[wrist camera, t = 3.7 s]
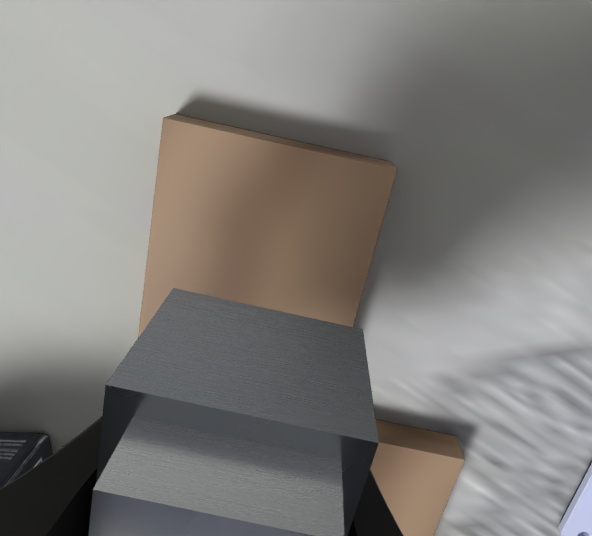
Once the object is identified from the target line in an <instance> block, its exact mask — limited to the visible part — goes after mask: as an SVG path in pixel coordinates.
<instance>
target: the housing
mask: <svg viewBox="0 0 592 536" xmlns="http://www.w3.org/2000/svg"><path fill="white" fill-rule="evenodd" d="M378 444H379V441H378V434H377V427H376V419H375V412H374V405H373V398H372V391H371V384H370V377H369V370H368V363H367V356H366V349H365V342H364V335H363V329H359V328H355V327H350V326H345V325H341V324H336V323H332V322H327V321H323V320H318V319H314V318H309V317H304V316H300V315H295V314H291V313H286V312H282V311H277V310H273V309H268V308H263V307H259V306H254V305H250V304H245V303H241V302H236V301H232V300H227V299H222V298H218V297H213V296H209V295H204V294H200V293H195V292H191V291H186V290H181V289H177V288H173V289H172V290H171V292H170V293H169V295H168V296H167V297H166V299H165V300H164V302H163V303H162V305H161V306H160V308H159V309H158V310H157V312H156V313H155V315H154V316H153V318H152V319H151V320H150V322H149V323H148V325H147V326H146V328H145V329H144V331H143V332H142V333H141V335H140V336H139V338H138V339H137V341H136V342H135V343H134V345H133V346H132V348H131V349H130V351H129V352H128V353H127V355H126V356H125V358H124V359H123V361H122V362H121V364H120V365H119V366H118V368H117V369H116V371H115V372H114V374H113V375H112V376H111V378H110V379H109V381H108V382H107V384H106V387H105V397H104V407H103V417H102V427H101V437H100V447H99V457H98V467H97V477H96V485H95V487H94V489H93V494H92V504H91V514H90V525H89V535H88V536H348V533H349V530H350V527H351V524H352V521H353V518H354V515H355V512H356V509H357V506H358V503H359V500H360V497H361V494H362V491H363V489H364V486H365V483H366V480H367V477H368V474H369V471H370V468H371V465H372V462H373V459H374V456H375V453H376V450H377V447H378Z"/></svg>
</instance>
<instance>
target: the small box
mask: <svg viewBox="0 0 592 536" xmlns="http://www.w3.org/2000/svg"><path fill="white" fill-rule="evenodd" d="M51 455H52V451H51V447H50V442H49V437H48V436H47V435H44V434H36V433H25V434H24V433H0V489H1V488H3V487H4V486H6V485H8V484H9V483H11V482H12V481H14V480H16V479H17V478H19V477H20V476H22V475H23V474H25V473H26V472H28V471H29V470H31V469H32V468H34V467H35V466H37V465H38V464H40V463H41V462H43V461H44V460H45V459H47V458H48V457H50V456H51Z"/></svg>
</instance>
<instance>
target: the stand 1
mask: <svg viewBox="0 0 592 536" xmlns="http://www.w3.org/2000/svg"><path fill="white" fill-rule="evenodd" d="M396 171H397V169H396V168H395V166H394V165H393V163H392V162H389V161H384V160H380V159H375V158H371V157H366V156H362V155H357V154H353V153H348V152H344V151H339V150H335V149H330V148H326V147H321V146H317V145H312V144H308V143H303V142H299V141H294V140H290V139H285V138H281V137H276V136H272V135H267V134H263V133H258V132H254V131H249V130H245V129H240V128H236V127H231V126H227V125H222V124H218V123H213V122H209V121H204V120H200V119H195V118H191V117H186V116H182V115H177V114H173V115H170V116H167V117H164V118H163V123H162V132H161V140H160V149H159V158H158V167H157V176H156V184H155V193H154V202H153V211H152V219H151V228H150V237H149V246H148V255H147V263H146V272H145V281H144V290H143V299H142V307H141V316H140V325H139V334H138V338H139V336H140V335H141V333H142V332H143V331H144V329H145V328H146V326H147V325H148V323H149V322H150V320H151V319H152V318H153V316H154V315H155V313H156V312H157V310H158V309H159V308H160V306H161V305H162V303H163V302H164V300H165V299H166V297H167V296H168V295H169V293H170V292H171V290H172V289H173V288H177V289H181V290H186V291H191V292H195V293H200V294H204V295H209V296H213V297H218V298H222V299H227V300H232V301H236V302H241V303H245V304H250V305H254V306H259V307H263V308H268V309H273V310H277V311H282V312H286V313H291V314H295V315H300V316H304V317H309V318H314V319H318V320H323V321H327V322H332V323H336V324H341V325H345V326H350V327H353V324H354V321H355V317H356V314H357V310H358V306H359V303H360V299H361V296H362V292H363V289H364V285H365V282H366V278H367V274H368V271H369V267H370V264H371V260H372V257H373V253H374V250H375V246H376V242H377V239H378V235H379V232H380V228H381V225H382V221H383V218H384V214H385V210H386V207H387V203H388V200H389V196H390V193H391V189H392V186H393V182H394V178H395V175H396Z"/></svg>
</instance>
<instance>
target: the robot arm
mask: <svg viewBox="0 0 592 536" xmlns="http://www.w3.org/2000/svg"><path fill="white" fill-rule="evenodd" d="M102 417H103V416H102ZM102 417H101V418H99V419H98V420H97V421H96V422H94V423H93V424H92V425H91V426H89V427H88V428H87V429H86V430H84V431H83V432H82V433H81V434H79V435H78V436H77V437H75V438H74V439H73V440H71V441H70V442H69V443H67V444H66V445H65V446H64V447H62V448H61V449H60V450H58V451H57V452H55V453H54V454H53V455H51V456H50V457H48V458H47V459H45V460H44V461H43V462H41V463H40V464H38V465H37V466H35V467H34V468H32V469H31V470H29V471H28V472H26V473H25V474H23V475H22V476H20V477H19V478H17V479H16V480H14V481H12V482H11V483H9V484H8V485H6V486H4V487H3V488H1V489H0V536H88V535H89V525H90V514H91V504H92V494H93V489H94V487H95V485H96V477H97V467H98V457H99V447H100V437H101V427H102ZM558 530H559V533H560V535H561V536H592V464H591V466H590V467H589V469H588V471H587V473H586V475H585V477H584V479H583V481H582V483H581V485H580V486H579V488H578V490H577V492H576V494H575V496H574V498H573V500H572V502H571V504H570V506H569V507H568V509H567V511H566V513H565V515H564V517H563V519H562V521H561V523H560V525H559V527H558ZM581 532H582V533H581ZM348 536H404V535H403V534H402V532H401V530H400V528H399V526H398V525H397V523H396V521H395V519H394V517H393V515H392V513H391V511H390V509H389V507H388V506H387V503H386V501H385V499H384V497H383V495H382V493H381V491H380V489H379V487H378V485H377V483H376V481H375V478H374V476H373V474H372V472H371V469H370V471H369V474H368V477H367V480H366V483H365V486H364V489H363V491H362V494H361V497H360V500H359V503H358V506H357V509H356V512H355V515H354V518H353V521H352V524H351V527H350V530H349V533H348Z"/></svg>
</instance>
